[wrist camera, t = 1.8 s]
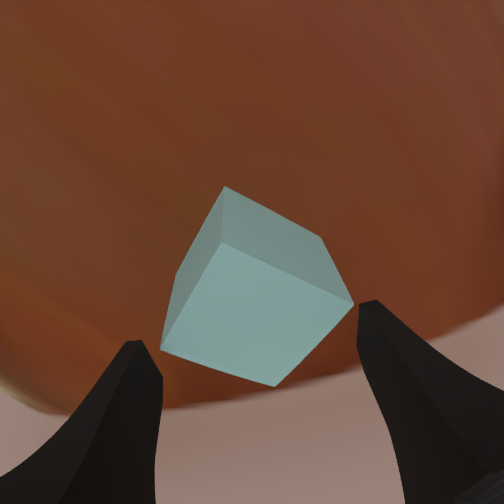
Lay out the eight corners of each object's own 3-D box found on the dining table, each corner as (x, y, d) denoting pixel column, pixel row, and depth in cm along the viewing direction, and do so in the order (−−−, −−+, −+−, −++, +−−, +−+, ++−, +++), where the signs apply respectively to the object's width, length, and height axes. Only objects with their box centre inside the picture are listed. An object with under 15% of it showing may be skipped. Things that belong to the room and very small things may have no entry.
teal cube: (320, 236, 15) (354, 304, 10) (264, 310, 17) (274, 386, 12) (224, 185, 13) (221, 242, 9) (176, 273, 15) (159, 349, 11)
